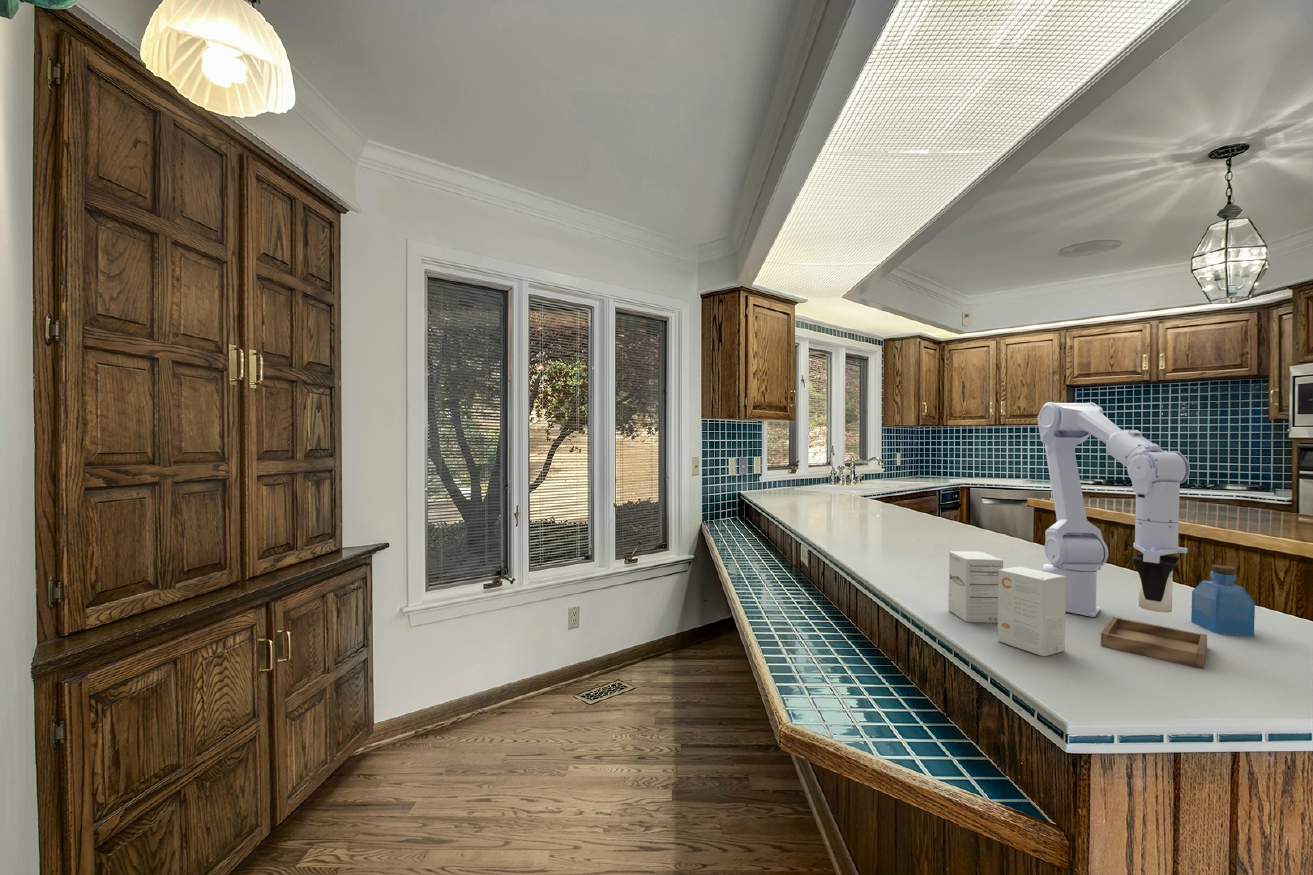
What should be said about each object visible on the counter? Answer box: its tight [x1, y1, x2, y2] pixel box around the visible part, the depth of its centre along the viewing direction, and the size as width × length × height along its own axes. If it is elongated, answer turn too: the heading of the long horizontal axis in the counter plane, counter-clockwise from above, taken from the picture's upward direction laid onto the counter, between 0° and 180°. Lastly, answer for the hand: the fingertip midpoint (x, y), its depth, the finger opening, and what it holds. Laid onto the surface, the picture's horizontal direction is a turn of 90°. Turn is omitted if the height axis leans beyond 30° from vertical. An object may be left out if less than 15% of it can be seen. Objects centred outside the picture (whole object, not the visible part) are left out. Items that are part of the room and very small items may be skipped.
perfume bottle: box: [1190, 564, 1256, 637], centre depth 110 cm, size 6×6×12 cm
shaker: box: [1138, 569, 1174, 613], centre depth 100 cm, size 4×4×7 cm
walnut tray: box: [1100, 616, 1208, 669], centre depth 100 cm, size 13×13×2 cm
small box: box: [997, 566, 1066, 657], centre depth 100 cm, size 8×6×13 cm
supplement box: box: [947, 550, 1004, 624], centre depth 115 cm, size 7×7×13 cm
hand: (1154, 597), depth 100 cm, fingers closed on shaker, 4 cm apart
